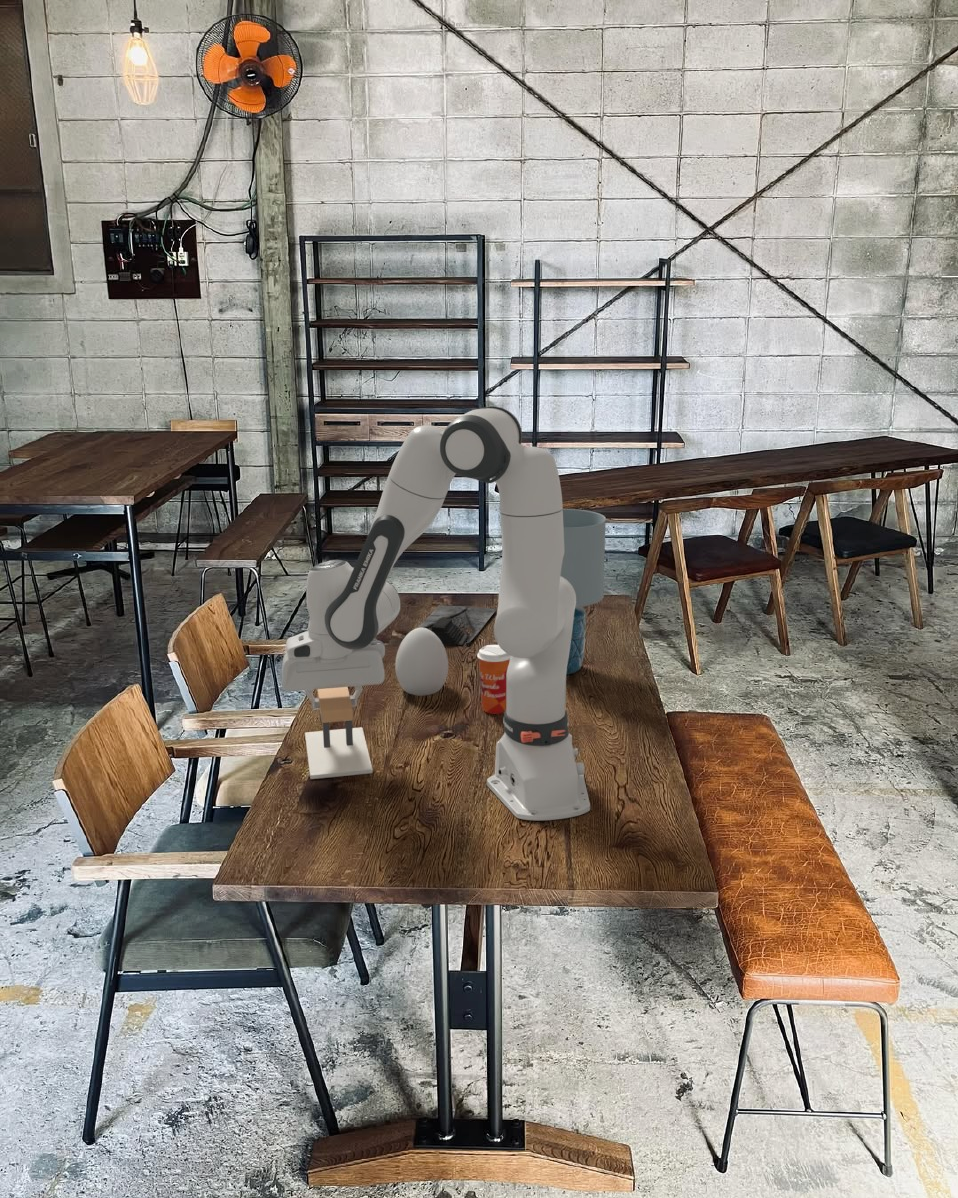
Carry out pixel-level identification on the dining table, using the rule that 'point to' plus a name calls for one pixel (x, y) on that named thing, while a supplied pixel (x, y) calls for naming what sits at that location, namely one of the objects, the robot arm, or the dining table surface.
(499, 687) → the paper cup
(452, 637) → the architectural model
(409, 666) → the decorative egg
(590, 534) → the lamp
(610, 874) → the dining table surface
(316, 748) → the felt mat
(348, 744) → the bench model
